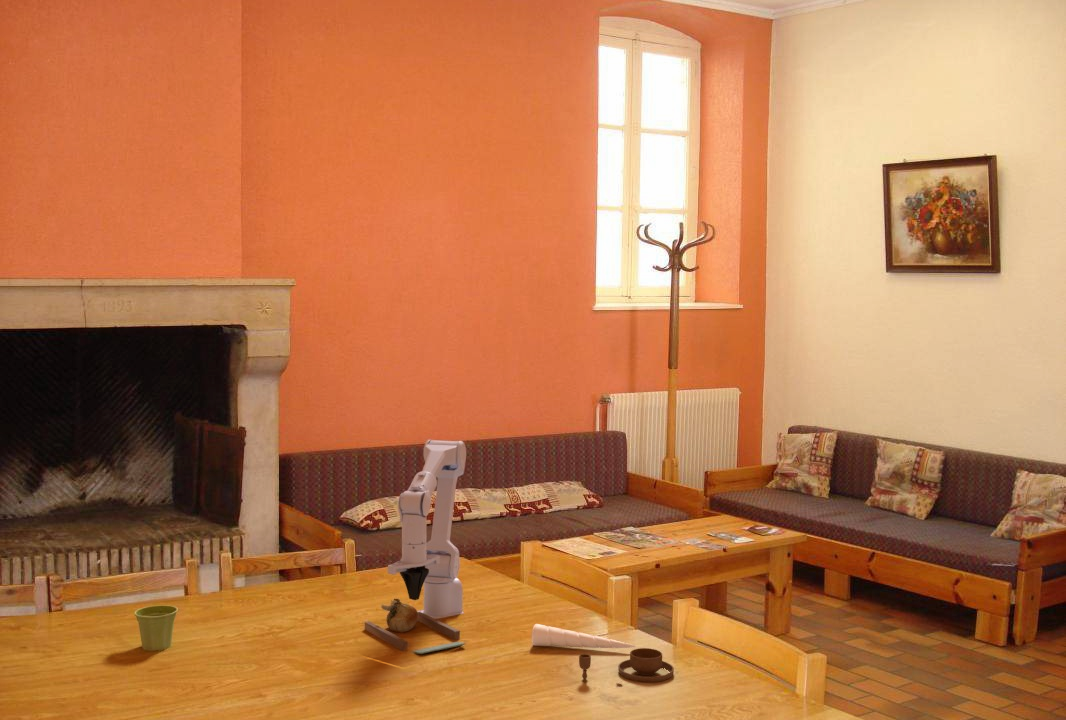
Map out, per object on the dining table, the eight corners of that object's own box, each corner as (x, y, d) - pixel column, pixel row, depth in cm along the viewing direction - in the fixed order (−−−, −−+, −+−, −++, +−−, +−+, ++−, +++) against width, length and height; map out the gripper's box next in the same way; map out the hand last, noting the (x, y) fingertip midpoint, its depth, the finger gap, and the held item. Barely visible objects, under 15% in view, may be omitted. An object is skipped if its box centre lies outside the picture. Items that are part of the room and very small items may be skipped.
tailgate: (409, 650, 248) (420, 652, 244) (454, 641, 255) (466, 642, 251) (409, 652, 248) (420, 653, 244) (455, 642, 255) (466, 644, 251)
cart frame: (419, 621, 271) (419, 611, 271) (459, 641, 256) (459, 630, 256) (364, 632, 262) (364, 622, 262) (402, 653, 247) (402, 642, 247)
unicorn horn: (633, 662, 250) (629, 668, 245) (533, 641, 256) (528, 646, 251) (636, 641, 249) (632, 647, 245) (536, 621, 255) (530, 626, 251)
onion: (402, 639, 257) (402, 605, 257) (378, 632, 262) (378, 599, 262) (424, 631, 264) (424, 598, 263) (400, 625, 268) (400, 592, 268)
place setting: (673, 691, 226) (673, 663, 226) (577, 686, 229) (577, 658, 229) (673, 663, 244) (674, 637, 243) (584, 658, 246) (584, 632, 246)
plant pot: (125, 650, 247) (125, 612, 246) (157, 639, 255) (157, 602, 255) (155, 657, 243) (155, 619, 242) (187, 645, 251) (186, 608, 250)
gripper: (426, 534, 265) (425, 589, 266) (379, 544, 254) (379, 601, 255) (445, 539, 260) (445, 595, 261) (398, 549, 250) (398, 607, 251)
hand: (414, 598), depth 258 cm, fingers closed
